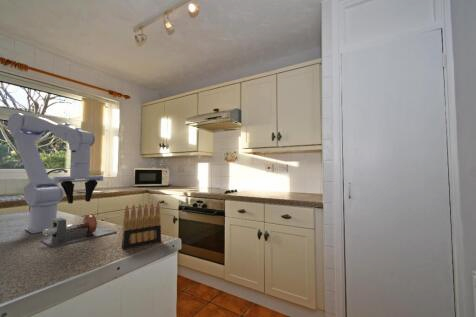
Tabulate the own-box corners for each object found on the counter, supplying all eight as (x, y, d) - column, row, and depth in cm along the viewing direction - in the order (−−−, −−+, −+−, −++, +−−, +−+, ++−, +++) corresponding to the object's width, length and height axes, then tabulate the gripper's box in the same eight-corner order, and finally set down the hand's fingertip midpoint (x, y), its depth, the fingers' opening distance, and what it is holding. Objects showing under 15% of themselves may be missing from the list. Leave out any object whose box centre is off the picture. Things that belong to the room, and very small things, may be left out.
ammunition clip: (123, 249, 62) (124, 206, 62) (121, 247, 63) (122, 205, 64) (161, 241, 68) (162, 202, 69) (159, 240, 70) (159, 201, 70)
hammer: (39, 241, 66) (39, 220, 67) (91, 230, 78) (91, 213, 78) (45, 245, 63) (46, 223, 63) (99, 233, 74) (99, 215, 75)
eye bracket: (40, 241, 68) (41, 218, 69) (103, 228, 83) (103, 210, 83) (51, 247, 63) (52, 223, 63) (116, 232, 77) (117, 213, 78)
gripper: (59, 163, 71) (57, 206, 70) (107, 164, 83) (106, 200, 82) (51, 163, 75) (50, 204, 74) (98, 164, 87) (97, 199, 86)
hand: (79, 202), depth 78 cm, fingers open, 5 cm apart
